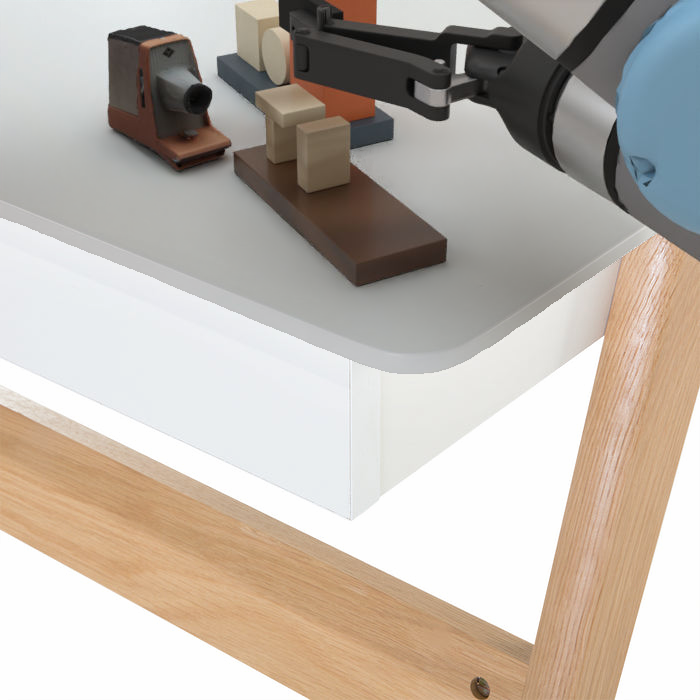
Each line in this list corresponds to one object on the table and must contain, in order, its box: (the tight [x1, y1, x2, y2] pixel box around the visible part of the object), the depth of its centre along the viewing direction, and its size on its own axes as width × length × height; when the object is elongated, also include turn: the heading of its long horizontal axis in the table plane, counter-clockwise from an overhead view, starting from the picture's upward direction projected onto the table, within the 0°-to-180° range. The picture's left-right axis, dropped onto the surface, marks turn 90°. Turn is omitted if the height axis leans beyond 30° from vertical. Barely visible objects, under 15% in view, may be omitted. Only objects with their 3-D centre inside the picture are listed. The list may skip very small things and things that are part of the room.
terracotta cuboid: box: [289, 0, 378, 122], centre depth 81 cm, size 5×4×15 cm
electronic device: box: [106, 24, 233, 171], centre depth 82 cm, size 4×10×8 cm, turn 38°
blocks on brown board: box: [232, 84, 448, 287], centre depth 75 cm, size 16×6×6 cm, turn 29°
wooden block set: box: [216, 0, 395, 150], centre depth 88 cm, size 16×6×6 cm, turn 29°
